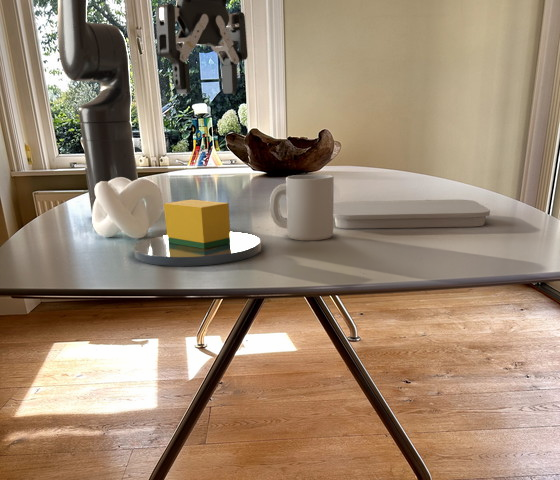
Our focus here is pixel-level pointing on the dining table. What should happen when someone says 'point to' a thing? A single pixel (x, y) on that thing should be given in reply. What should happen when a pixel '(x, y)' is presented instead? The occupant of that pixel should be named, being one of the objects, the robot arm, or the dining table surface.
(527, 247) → the dining table surface
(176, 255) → the plate
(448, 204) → the grey flat slab
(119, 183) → the white knot sculpture
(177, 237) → the sponge
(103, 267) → the dining table surface
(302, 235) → the cup
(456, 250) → the dining table surface
